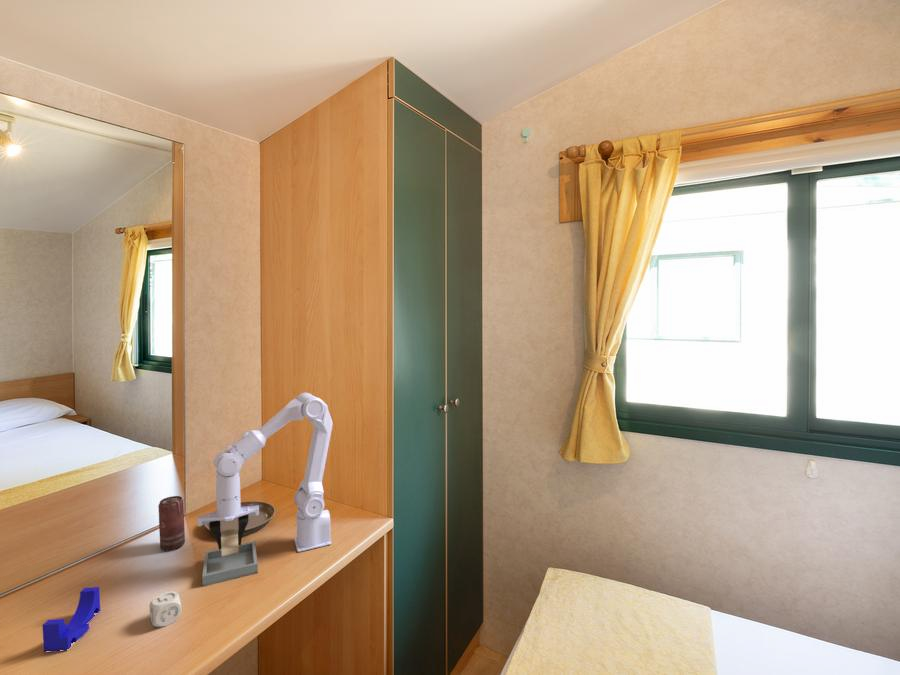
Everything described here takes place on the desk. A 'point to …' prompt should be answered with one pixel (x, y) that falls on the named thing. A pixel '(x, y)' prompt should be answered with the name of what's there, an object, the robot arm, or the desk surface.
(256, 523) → the plant saucer
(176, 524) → the can
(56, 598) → the desk surface
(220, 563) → the tray
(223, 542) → the block
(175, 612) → the die
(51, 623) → the blue curved piece
